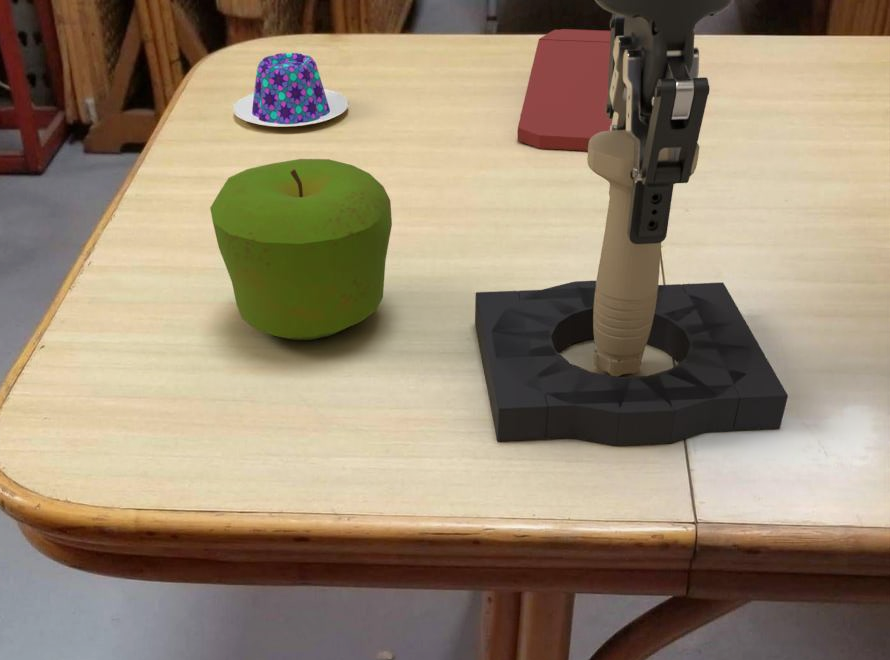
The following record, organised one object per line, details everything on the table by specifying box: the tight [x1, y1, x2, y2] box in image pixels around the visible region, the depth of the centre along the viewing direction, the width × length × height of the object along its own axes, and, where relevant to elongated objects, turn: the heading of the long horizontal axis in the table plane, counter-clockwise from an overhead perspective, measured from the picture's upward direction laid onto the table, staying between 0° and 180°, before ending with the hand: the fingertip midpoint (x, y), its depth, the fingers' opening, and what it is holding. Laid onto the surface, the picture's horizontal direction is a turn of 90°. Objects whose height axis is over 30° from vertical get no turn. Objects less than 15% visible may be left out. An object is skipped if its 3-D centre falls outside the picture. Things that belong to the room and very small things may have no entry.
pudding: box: [232, 52, 349, 128], centre depth 110 cm, size 12×12×5 cm
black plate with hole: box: [474, 280, 789, 447], centre depth 72 cm, size 18×17×2 cm
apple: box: [209, 158, 393, 341], centre depth 75 cm, size 12×12×11 cm
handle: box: [586, 130, 700, 377], centre depth 68 cm, size 5×6×15 cm
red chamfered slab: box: [517, 28, 626, 152], centre depth 112 cm, size 12×5×25 cm
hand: (635, 219), depth 66 cm, fingers closed on handle, 5 cm apart
